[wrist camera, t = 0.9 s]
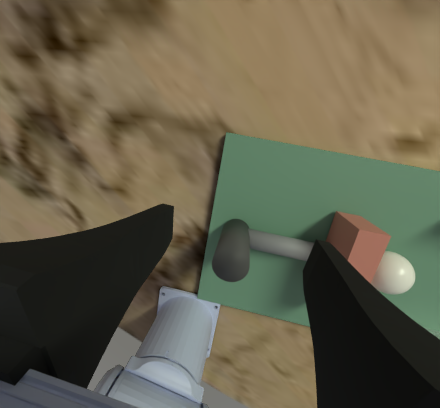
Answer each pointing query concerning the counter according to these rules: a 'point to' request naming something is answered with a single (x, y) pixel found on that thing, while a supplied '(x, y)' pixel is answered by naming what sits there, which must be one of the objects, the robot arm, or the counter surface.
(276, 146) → the board
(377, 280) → the ball
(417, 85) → the counter surface
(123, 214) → the counter surface
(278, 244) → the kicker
